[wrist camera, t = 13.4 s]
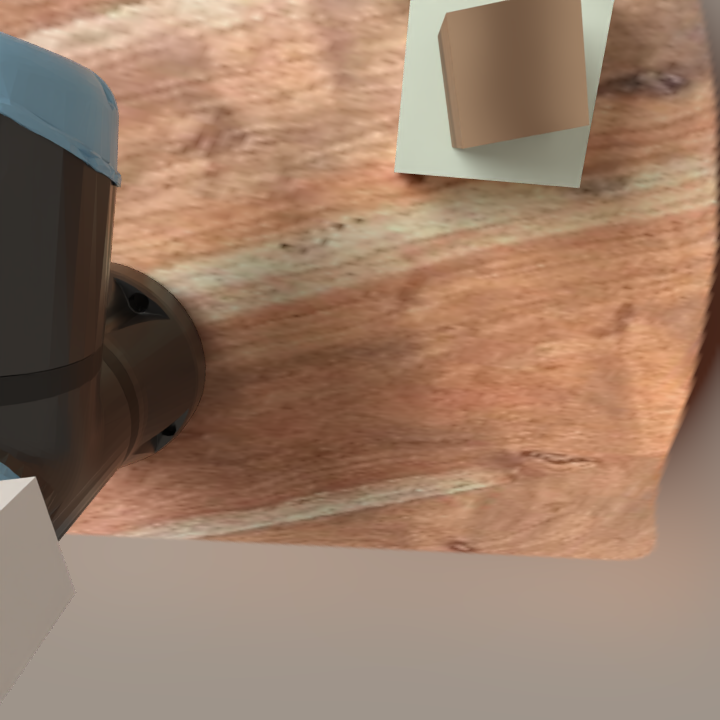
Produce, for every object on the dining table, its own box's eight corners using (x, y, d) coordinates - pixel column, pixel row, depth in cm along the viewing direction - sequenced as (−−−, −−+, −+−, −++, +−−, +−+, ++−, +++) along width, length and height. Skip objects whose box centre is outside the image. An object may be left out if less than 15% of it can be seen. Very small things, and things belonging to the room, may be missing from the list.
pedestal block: (394, 168, 44) (394, 172, 39) (411, -18, 40) (414, -39, 35) (559, 182, 43) (579, 188, 39) (591, -4, 40) (618, -23, 35)
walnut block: (451, 147, 38) (463, 148, 32) (437, 36, 36) (446, 12, 30) (555, 128, 38) (589, 125, 31) (546, 13, 36) (579, -16, 29)
